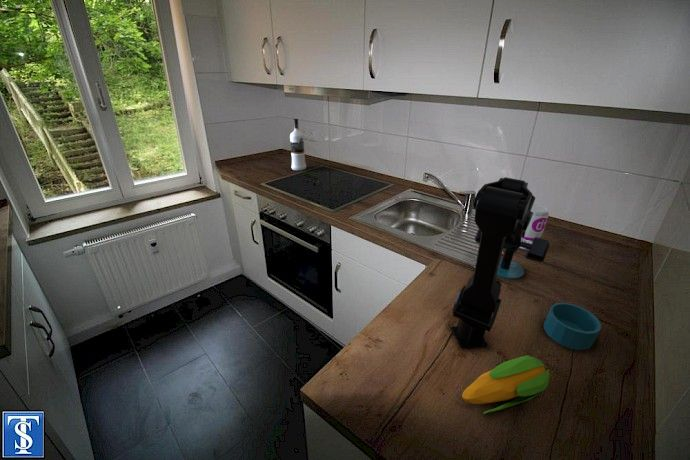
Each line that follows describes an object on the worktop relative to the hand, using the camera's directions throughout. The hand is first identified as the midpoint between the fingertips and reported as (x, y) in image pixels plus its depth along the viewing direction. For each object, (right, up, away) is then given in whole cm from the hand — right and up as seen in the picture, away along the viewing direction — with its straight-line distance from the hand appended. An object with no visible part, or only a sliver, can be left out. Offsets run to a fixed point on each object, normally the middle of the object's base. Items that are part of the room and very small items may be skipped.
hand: (510, 250), depth 99 cm
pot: (+3, -19, -21) cm, 29 cm away
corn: (-21, -27, -36) cm, 49 cm away
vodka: (-81, +45, +98) cm, 135 cm away
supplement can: (+14, 0, +16) cm, 21 cm away
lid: (-1, -6, +2) cm, 6 cm away
